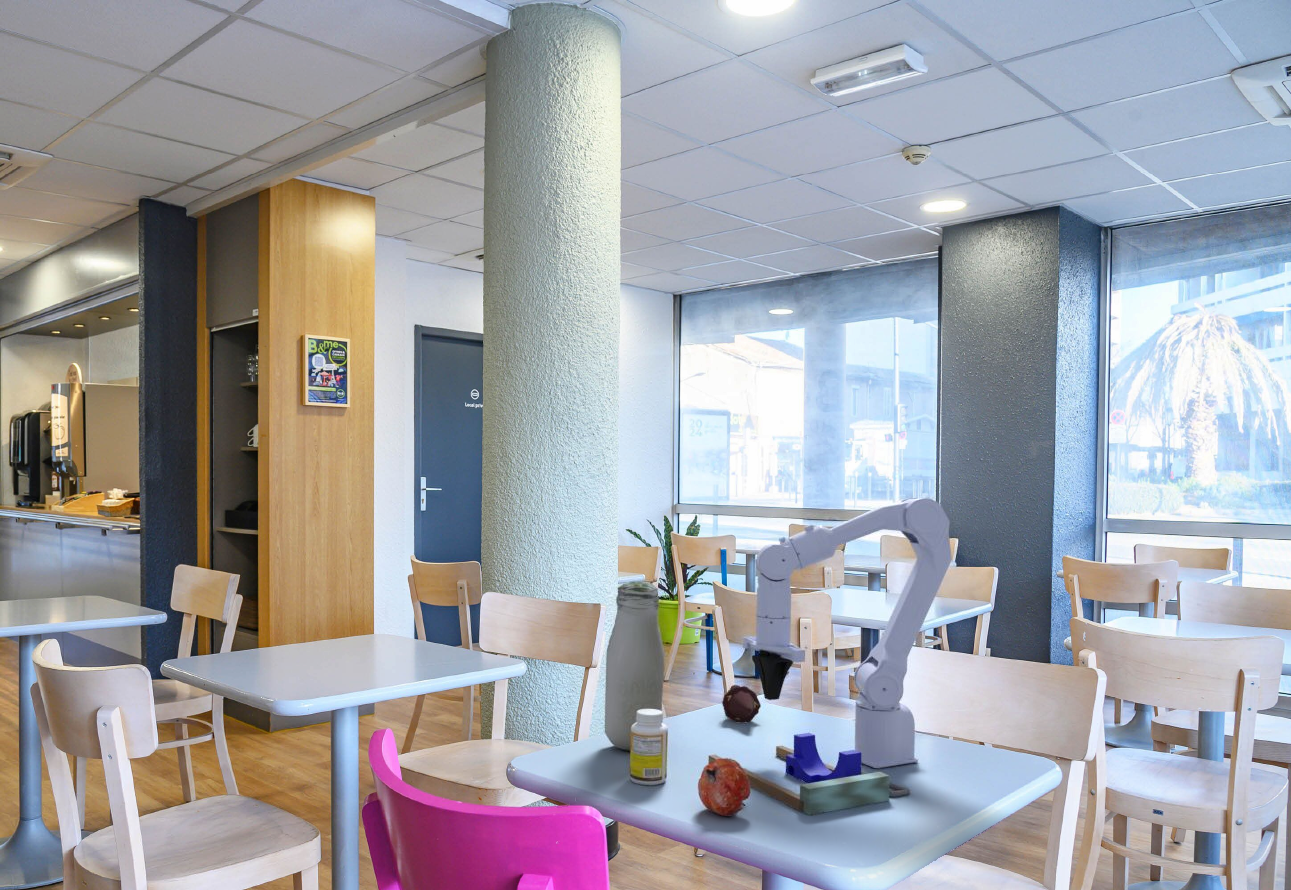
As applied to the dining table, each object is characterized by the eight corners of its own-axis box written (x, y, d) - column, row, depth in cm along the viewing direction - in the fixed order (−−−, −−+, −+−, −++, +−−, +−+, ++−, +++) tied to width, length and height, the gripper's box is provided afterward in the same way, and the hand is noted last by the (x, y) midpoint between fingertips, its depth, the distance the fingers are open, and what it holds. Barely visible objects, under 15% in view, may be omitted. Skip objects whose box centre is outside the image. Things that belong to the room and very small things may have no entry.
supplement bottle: (645, 772, 141) (647, 705, 142) (674, 780, 138) (675, 711, 138) (621, 780, 137) (623, 711, 138) (650, 789, 133) (652, 717, 134)
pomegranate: (717, 816, 129) (672, 781, 125) (746, 772, 131) (703, 736, 127) (747, 840, 123) (701, 803, 119) (778, 793, 125) (733, 756, 121)
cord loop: (852, 770, 145) (852, 765, 145) (911, 794, 134) (911, 789, 134) (834, 772, 144) (834, 768, 144) (892, 797, 133) (892, 792, 133)
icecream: (774, 696, 169) (753, 686, 183) (736, 685, 168) (718, 676, 183) (764, 733, 168) (744, 720, 182) (726, 723, 167) (709, 711, 182)
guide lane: (781, 754, 153) (782, 733, 153) (889, 800, 131) (889, 775, 132) (708, 764, 146) (708, 742, 146) (808, 815, 124) (809, 788, 124)
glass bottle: (610, 758, 148) (615, 584, 150) (598, 741, 158) (603, 578, 160) (669, 755, 150) (673, 584, 152) (653, 739, 160) (658, 578, 162)
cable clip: (785, 774, 143) (786, 735, 143) (808, 771, 145) (808, 732, 145) (837, 797, 133) (838, 755, 133) (860, 793, 135) (861, 752, 135)
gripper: (729, 611, 158) (727, 691, 157) (781, 623, 145) (779, 710, 144) (762, 610, 161) (760, 688, 160) (816, 621, 148) (814, 706, 148)
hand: (771, 698), depth 153 cm, fingers closed
